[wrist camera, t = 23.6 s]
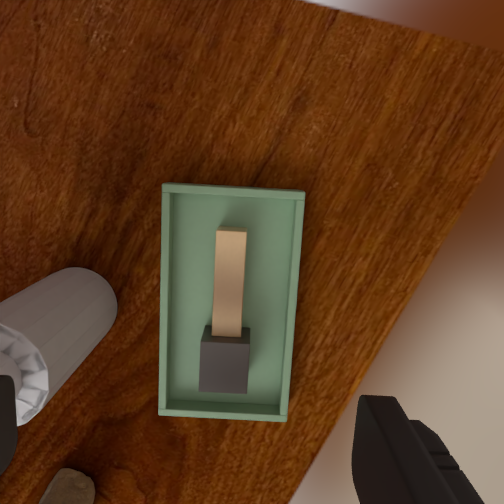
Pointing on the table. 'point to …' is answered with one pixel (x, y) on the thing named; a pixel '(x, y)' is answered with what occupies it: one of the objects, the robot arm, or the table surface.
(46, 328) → the bottle
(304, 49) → the table surface
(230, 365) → the brush
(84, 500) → the stone
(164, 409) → the tray
